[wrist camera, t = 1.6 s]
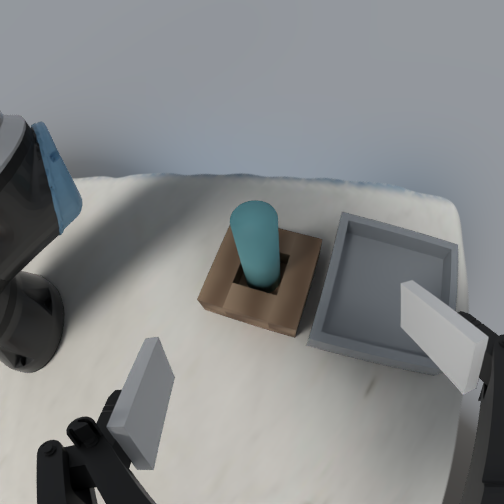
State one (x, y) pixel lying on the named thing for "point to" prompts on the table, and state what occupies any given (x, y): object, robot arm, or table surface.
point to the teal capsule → (257, 244)
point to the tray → (380, 291)
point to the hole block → (258, 302)
